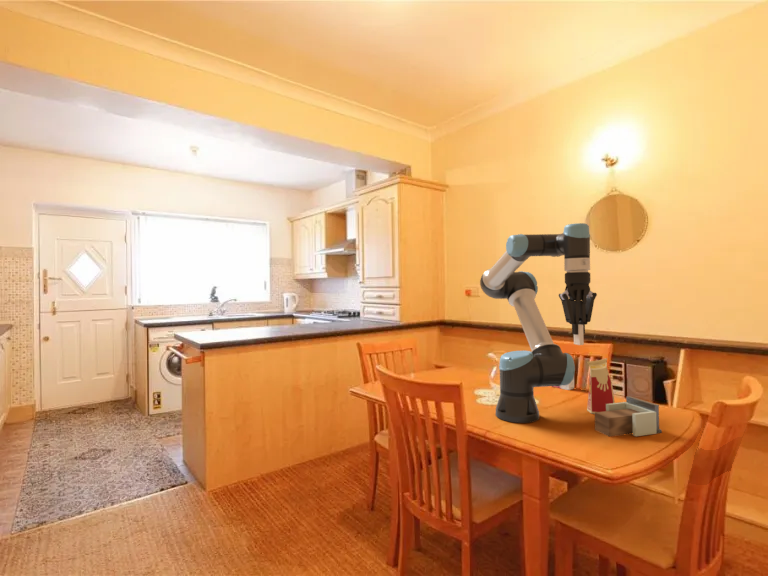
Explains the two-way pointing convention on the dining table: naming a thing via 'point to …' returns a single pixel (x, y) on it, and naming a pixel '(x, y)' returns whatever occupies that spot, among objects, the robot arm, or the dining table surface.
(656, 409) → the plate
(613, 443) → the dining table surface
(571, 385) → the ink box
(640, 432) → the socket block
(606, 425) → the walnut bar
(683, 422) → the dining table surface
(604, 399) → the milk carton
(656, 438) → the dining table surface
